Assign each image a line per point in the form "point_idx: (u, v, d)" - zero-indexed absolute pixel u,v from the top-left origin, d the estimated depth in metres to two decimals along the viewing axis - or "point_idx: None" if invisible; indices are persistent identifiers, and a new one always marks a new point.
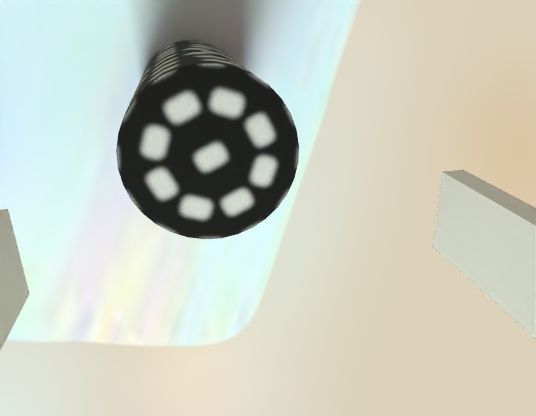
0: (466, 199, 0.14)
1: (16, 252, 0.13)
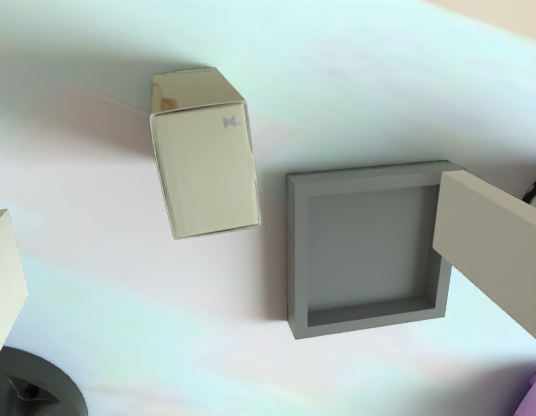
0: (467, 199, 0.14)
1: (16, 252, 0.13)
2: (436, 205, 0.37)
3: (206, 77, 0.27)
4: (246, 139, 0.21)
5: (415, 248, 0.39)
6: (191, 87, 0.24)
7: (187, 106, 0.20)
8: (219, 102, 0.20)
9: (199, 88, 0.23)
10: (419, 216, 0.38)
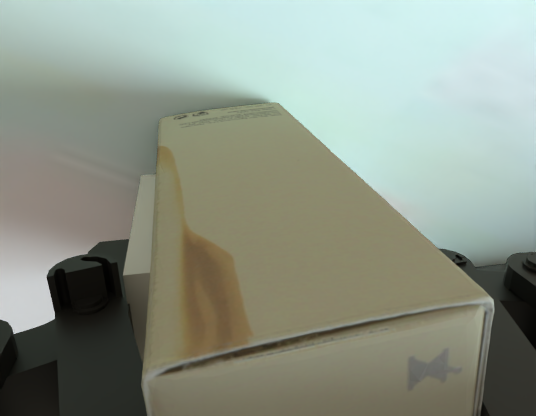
0: None
1: None
2: None
3: (276, 137, 0.12)
4: (469, 409, 0.06)
5: None
6: (256, 181, 0.09)
7: (285, 327, 0.05)
8: (400, 307, 0.05)
9: (280, 189, 0.09)
10: None
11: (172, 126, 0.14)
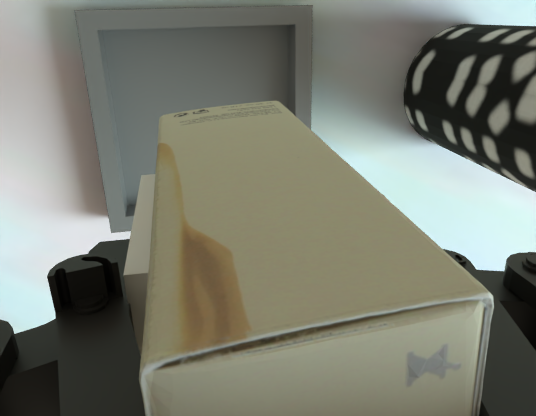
0: None
1: None
2: (289, 65, 0.30)
3: (276, 134, 0.12)
4: (468, 405, 0.06)
5: None
6: (256, 178, 0.09)
7: (284, 322, 0.05)
8: (399, 302, 0.05)
9: (280, 186, 0.09)
10: (270, 81, 0.30)
11: (172, 123, 0.14)
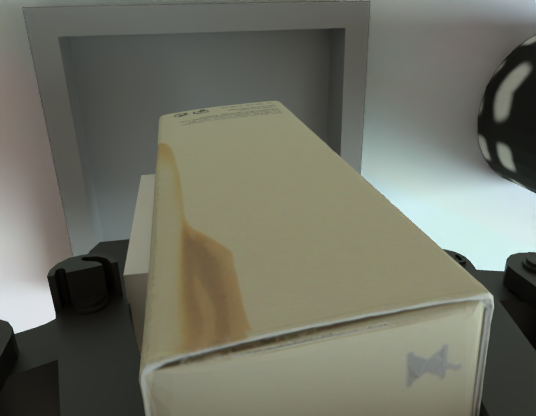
0: None
1: None
2: (331, 83, 0.21)
3: (276, 134, 0.12)
4: (468, 405, 0.06)
5: None
6: (256, 178, 0.09)
7: (283, 322, 0.05)
8: (399, 303, 0.05)
9: (280, 186, 0.09)
10: (303, 105, 0.22)
11: (172, 124, 0.14)
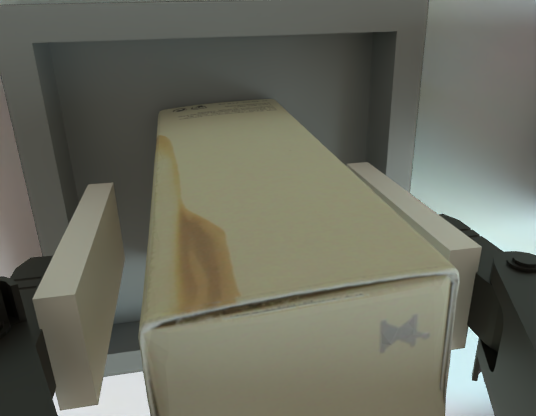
0: None
1: (117, 221, 0.15)
2: (372, 99, 0.17)
3: (270, 130, 0.13)
4: (436, 373, 0.07)
5: None
6: (249, 168, 0.10)
7: (269, 290, 0.06)
8: (374, 275, 0.06)
9: (272, 175, 0.09)
10: (338, 125, 0.18)
11: (171, 118, 0.15)
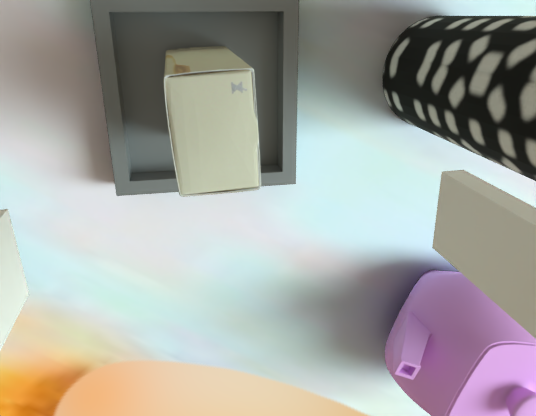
0: (467, 199, 0.14)
1: (17, 252, 0.13)
2: (278, 48, 0.33)
3: (217, 52, 0.28)
4: (251, 105, 0.22)
5: (261, 103, 0.35)
6: (203, 58, 0.26)
7: (199, 70, 0.22)
8: (228, 68, 0.22)
9: (210, 59, 0.25)
10: (261, 62, 0.34)
11: (172, 51, 0.31)
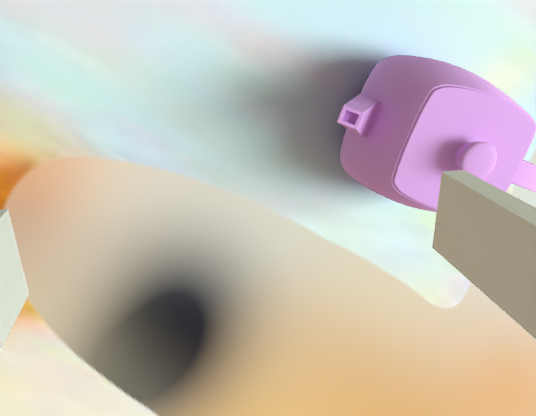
0: (467, 199, 0.14)
1: (17, 252, 0.13)
2: None
3: None
4: None
5: None
6: None
7: None
8: None
9: None
10: None
11: None
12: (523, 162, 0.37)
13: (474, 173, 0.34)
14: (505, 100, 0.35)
